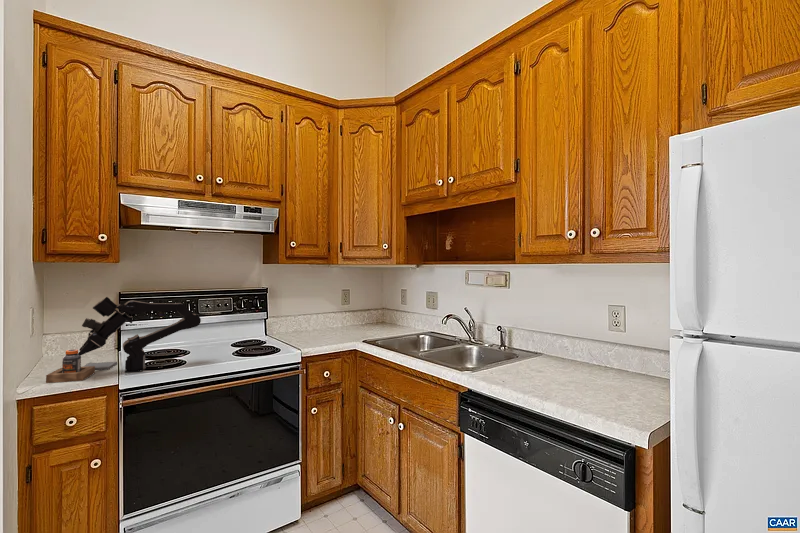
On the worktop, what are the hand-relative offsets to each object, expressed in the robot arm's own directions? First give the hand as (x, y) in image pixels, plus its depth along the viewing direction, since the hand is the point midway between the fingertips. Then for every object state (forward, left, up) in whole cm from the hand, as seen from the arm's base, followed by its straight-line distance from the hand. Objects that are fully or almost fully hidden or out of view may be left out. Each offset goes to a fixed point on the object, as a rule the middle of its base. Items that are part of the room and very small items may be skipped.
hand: (79, 352), depth 169 cm
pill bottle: (+2, +1, -10) cm, 10 cm away
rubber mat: (-2, -15, -10) cm, 18 cm away
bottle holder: (+2, +1, -10) cm, 10 cm away
